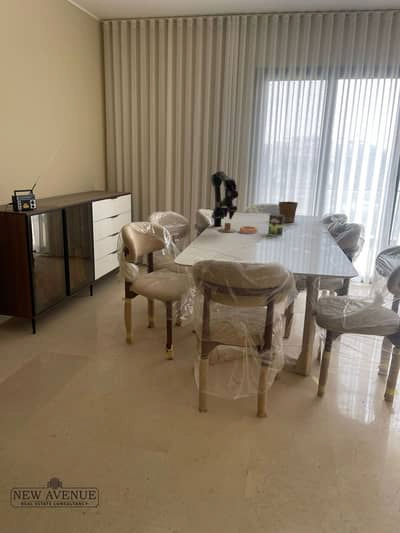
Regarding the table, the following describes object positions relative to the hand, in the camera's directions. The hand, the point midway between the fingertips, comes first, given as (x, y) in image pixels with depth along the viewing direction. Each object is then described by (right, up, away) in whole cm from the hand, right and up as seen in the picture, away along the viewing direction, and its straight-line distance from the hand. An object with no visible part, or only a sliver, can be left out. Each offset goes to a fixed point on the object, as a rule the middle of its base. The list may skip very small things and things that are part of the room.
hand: (227, 218), depth 284 cm
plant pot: (+53, +3, +46) cm, 71 cm away
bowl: (+15, -10, +1) cm, 18 cm away
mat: (0, -9, +3) cm, 10 cm away
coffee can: (+34, -12, -4) cm, 36 cm away
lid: (0, -9, +3) cm, 9 cm away
